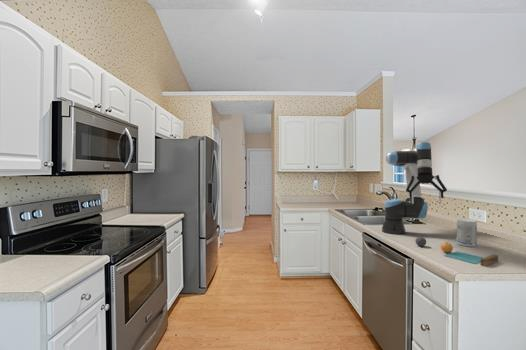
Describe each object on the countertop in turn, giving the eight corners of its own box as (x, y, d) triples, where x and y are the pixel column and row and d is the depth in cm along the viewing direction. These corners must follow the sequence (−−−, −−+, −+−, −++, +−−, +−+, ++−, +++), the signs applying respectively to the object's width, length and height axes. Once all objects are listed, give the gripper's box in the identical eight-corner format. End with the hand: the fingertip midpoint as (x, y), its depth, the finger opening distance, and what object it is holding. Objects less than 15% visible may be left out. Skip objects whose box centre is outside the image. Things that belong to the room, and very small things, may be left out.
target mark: (443, 255, 141) (443, 255, 141) (457, 251, 148) (457, 251, 148) (475, 264, 129) (475, 263, 129) (488, 259, 135) (488, 258, 135)
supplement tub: (464, 242, 166) (465, 218, 166) (480, 246, 157) (481, 221, 157) (452, 243, 164) (452, 219, 163) (467, 247, 155) (468, 222, 154)
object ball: (438, 252, 147) (438, 242, 147) (443, 250, 150) (444, 240, 150) (449, 254, 142) (449, 244, 142) (454, 253, 145) (455, 243, 145)
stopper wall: (480, 265, 127) (480, 258, 127) (493, 260, 134) (493, 254, 133) (485, 266, 125) (485, 260, 125) (498, 261, 132) (498, 255, 132)
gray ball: (413, 245, 159) (413, 236, 159) (418, 244, 162) (418, 235, 162) (422, 248, 154) (422, 238, 154) (428, 246, 157) (428, 237, 157)
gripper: (400, 167, 162) (401, 202, 158) (450, 165, 150) (453, 202, 145) (401, 170, 169) (402, 204, 164) (449, 168, 156) (452, 205, 151)
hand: (426, 203), depth 154 cm, fingers open, 13 cm apart
